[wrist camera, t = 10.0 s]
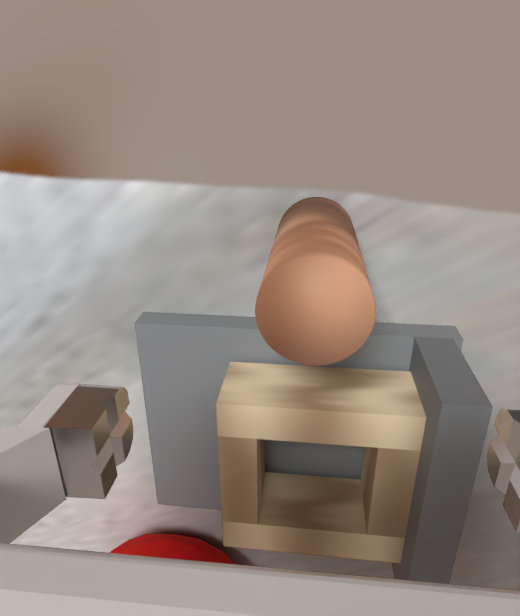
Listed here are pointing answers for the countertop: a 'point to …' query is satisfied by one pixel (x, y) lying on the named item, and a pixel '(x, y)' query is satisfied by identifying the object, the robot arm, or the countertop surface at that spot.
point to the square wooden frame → (324, 430)
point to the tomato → (173, 548)
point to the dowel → (315, 286)
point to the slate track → (313, 456)
